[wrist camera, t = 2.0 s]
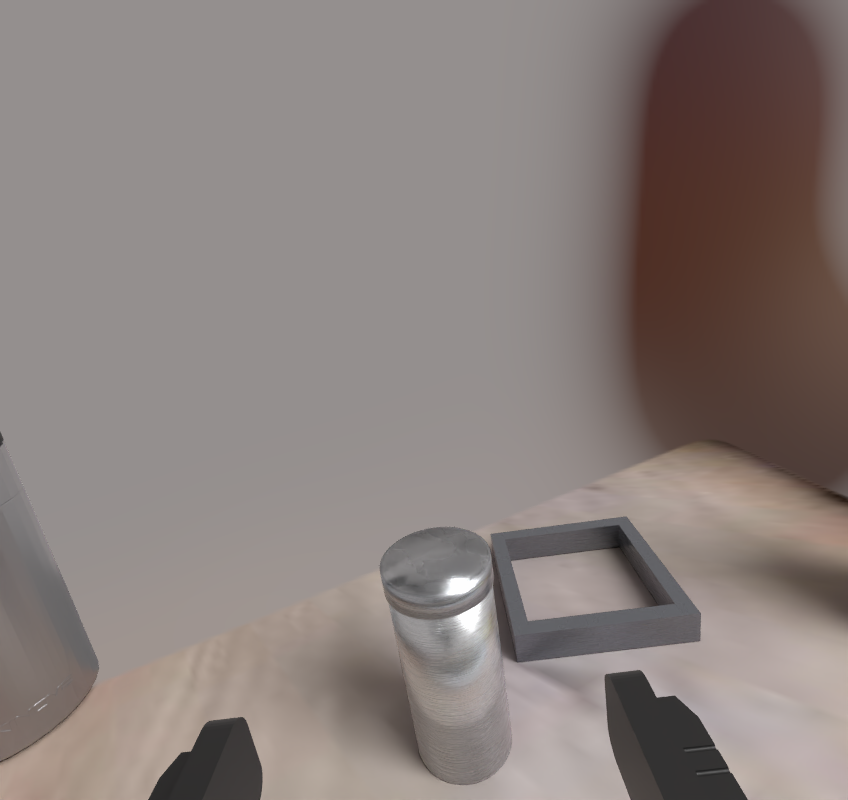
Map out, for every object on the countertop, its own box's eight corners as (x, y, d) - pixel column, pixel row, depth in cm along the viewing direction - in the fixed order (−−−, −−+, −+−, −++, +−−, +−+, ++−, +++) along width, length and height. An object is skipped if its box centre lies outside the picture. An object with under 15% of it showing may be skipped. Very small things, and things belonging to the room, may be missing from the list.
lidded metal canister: (397, 760, 25) (357, 580, 22) (444, 680, 29) (416, 520, 26) (491, 806, 22) (460, 609, 19) (527, 711, 26) (507, 536, 23)
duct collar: (517, 662, 30) (514, 635, 29) (493, 555, 40) (490, 534, 40) (700, 640, 29) (700, 613, 29) (627, 537, 40) (626, 516, 39)
